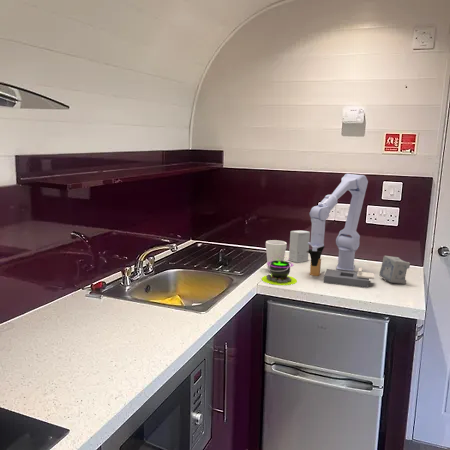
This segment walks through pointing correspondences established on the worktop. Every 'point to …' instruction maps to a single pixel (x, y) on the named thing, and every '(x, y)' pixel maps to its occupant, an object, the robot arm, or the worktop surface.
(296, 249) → the skincare box
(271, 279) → the toy cauldron
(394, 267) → the grey rough block
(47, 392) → the worktop surface
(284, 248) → the foam cup
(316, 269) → the orange bottle
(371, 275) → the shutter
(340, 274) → the socket
